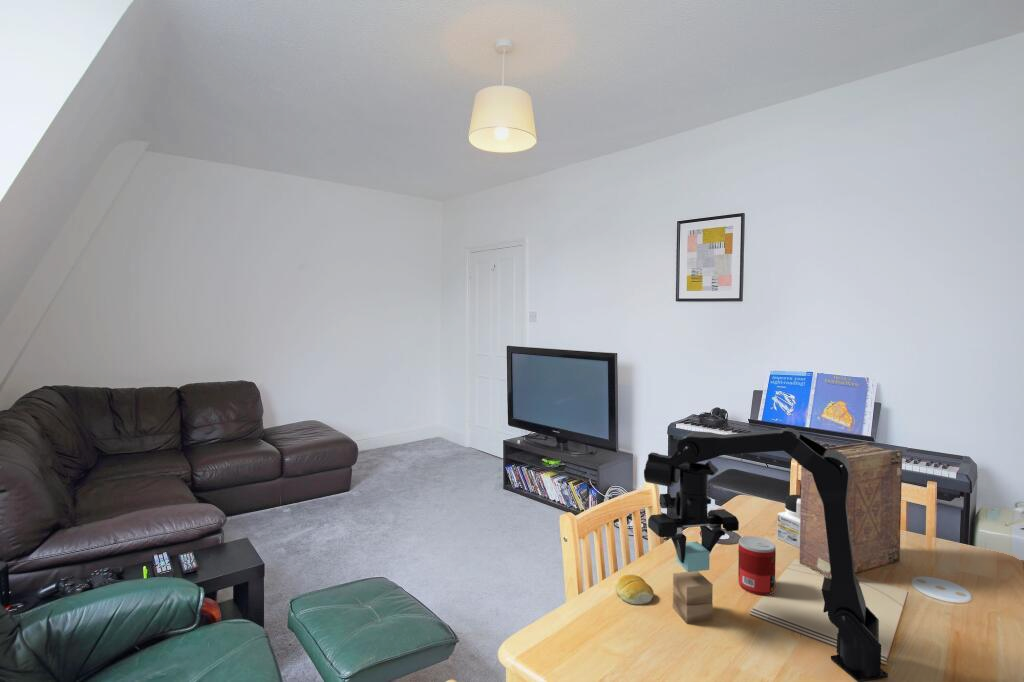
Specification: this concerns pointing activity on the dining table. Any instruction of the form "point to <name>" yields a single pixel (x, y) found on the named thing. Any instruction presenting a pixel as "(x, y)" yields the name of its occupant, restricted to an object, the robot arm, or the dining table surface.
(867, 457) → the book
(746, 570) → the canned food
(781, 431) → the robot arm
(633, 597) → the bread roll
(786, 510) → the container
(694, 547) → the teal block
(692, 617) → the tower base
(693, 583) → the tower top
